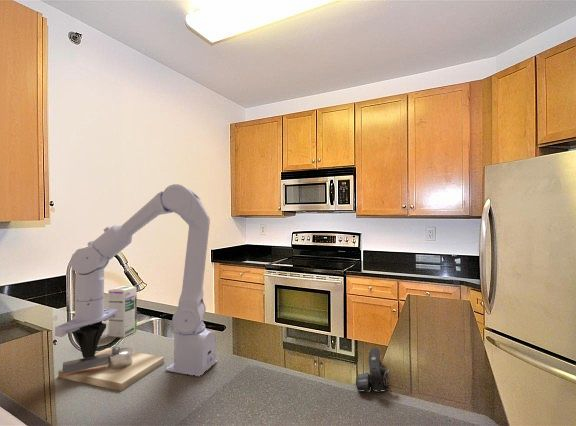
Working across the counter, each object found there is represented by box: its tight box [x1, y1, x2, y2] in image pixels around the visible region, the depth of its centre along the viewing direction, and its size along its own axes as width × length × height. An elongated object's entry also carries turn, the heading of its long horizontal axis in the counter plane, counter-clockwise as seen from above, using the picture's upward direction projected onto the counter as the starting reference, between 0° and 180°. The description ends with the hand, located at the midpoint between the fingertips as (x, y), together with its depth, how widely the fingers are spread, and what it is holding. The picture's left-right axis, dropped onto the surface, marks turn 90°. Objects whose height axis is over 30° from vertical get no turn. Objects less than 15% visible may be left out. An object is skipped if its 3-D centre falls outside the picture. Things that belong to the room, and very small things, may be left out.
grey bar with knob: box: [62, 346, 134, 374], centre depth 69 cm, size 14×5×4 cm, turn 123°
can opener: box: [355, 347, 391, 391], centre depth 69 cm, size 18×7×6 cm, turn 161°
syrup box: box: [107, 285, 138, 339], centre depth 95 cm, size 6×6×14 cm
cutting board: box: [57, 347, 165, 392], centre depth 71 cm, size 18×15×2 cm
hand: (88, 356), depth 71 cm, fingers closed
